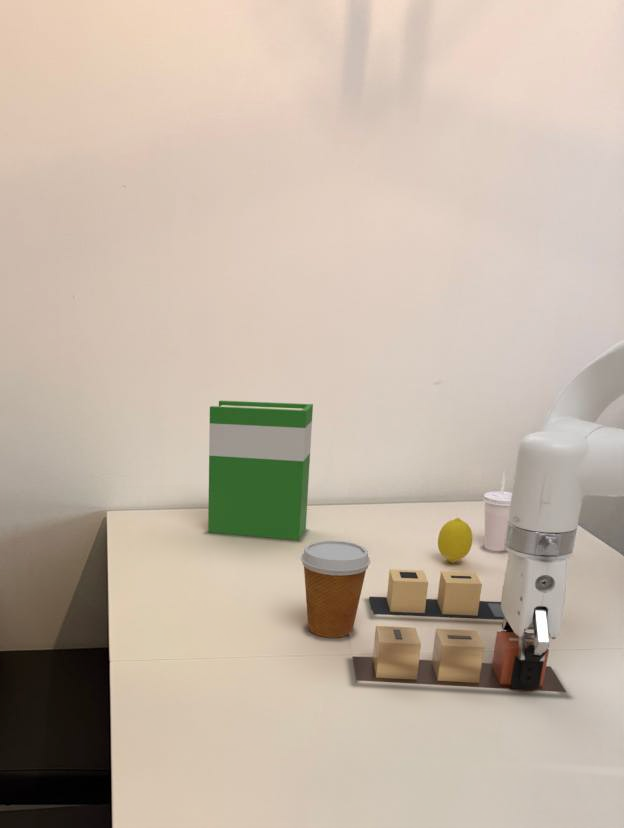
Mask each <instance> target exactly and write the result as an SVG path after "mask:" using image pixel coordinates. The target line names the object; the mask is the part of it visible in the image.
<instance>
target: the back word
mask: <svg viewBox="0 0 624 828" xmlns="http://www.w3.org/2000/svg"><path fill="white" fill-rule="evenodd" d="M428 588H429V581H428V578H427V575H426V573H425V571H424V570H421V569H420V570H418V569H395V568H394V569H391V568H389V572H388V581H387V592H386V596H369V598H368V599H369V603H370V608H371V611H372V614H373V615H381V616H382V615H383V616H384V615H385V616H403V617H404V616H406V617H425V618H426V617H430V618H431V617H432V618H451V619H475V620H493V621H494V620H495V621H497V620H499V621H503V619H504V614H503V612H502V608H501V601H489V600H488V601H486V600H481V593H482V588H483V583H482V581H481V580H480V578H479V576H478V575H477V573H476V572H475V571H451V570H450V571H449V570H448V571H447V570H445V571H444V570H441V571H440V573H439V582H438V590H437V591H438V592H437V598H428V597H427V596H428Z"/></svg>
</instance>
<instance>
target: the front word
mask: <svg viewBox="0 0 624 828" xmlns="http://www.w3.org/2000/svg"><path fill="white" fill-rule="evenodd" d="M434 633H435V634H434V640H433V641H434V642H433V648H432V657H431V659H420V655H421V646H422V642H421V641H420V637H419V633H418V631H417V627H408V626H386V625H375V632H374V641H373V653H372V657H371V656H352V665H353V671H354V678H355V683H356V684H357V682H358V681H359V682H374V683H378V682H379V683H392V684H393V683H394V684H410V685H411V684H412V685H429V686H430V685H431V686H446V687H447V686H449V687H463V688H464V687H467V688H483V689H502V690H517V691H518V690H522V691H536V692H537V691H538V692H555V693H557V692H558V693H559V692H560V693H567V690H566V689H565V687H564V686H563V684H562V682H561V680H559V677H558V676H557V675H556V673H555V671H554V670H553V668H552V666H550V665H549V666H548V665H546V670H545V675H544V681H543V686H542V687H541V686H539V688H538V689H522V688H513V687H512V686H511V685H504V684H500V683H499V681H498V679H497V677H496V674H495V672H494V670H493V668H492V662H491V663H490V662H483V657H484V653H485V652H484V651H485V645H484V643H483V642H482V639H481V638H480V636H479V633H478V632H477V630H473V629H472V630H471V629H470V630H469V629H452V628H451V629H447V628H435V632H434Z"/></svg>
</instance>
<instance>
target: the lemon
mask: <svg viewBox="0 0 624 828" xmlns="http://www.w3.org/2000/svg"><path fill="white" fill-rule="evenodd" d="M472 545H473V531H472V529H471V526H469V524H468V523H467V522H466V521H464V520H462V519H461V517H460V518H459V517H455V518H454V519H451V520H449V521H447V522H445V524H444V525H443V526H442V527H441V528H440V531H439V534H438V538H437V549H438V551H439V554H440V555H441V556H442V557H443V558H445V559H446V560H448V562H450V563H451V564H454V563H456V562H457V561H458V560H462V559H464V558H465V557H466V556H467V555H468V554H469V552H470V551H471V549H472Z"/></svg>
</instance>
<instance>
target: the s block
mask: <svg viewBox="0 0 624 828" xmlns="http://www.w3.org/2000/svg"><path fill="white" fill-rule="evenodd" d="M525 634H534V632H527V633H525ZM495 636H496V637H495V642H494V648H493V649H494V650H493V655H492V662H491V663H492V668H493V670H494V672H495V674H496V677H497V679H498V681H499V683H500V684H504V685H511V678H512V672H513V666H514V660H515V657H518V648H519V636H518V635H516V634H515V633H514V632H501V631H496V635H495ZM533 642H534V640H531V639H526V648H527V647H528V646H529V645H533ZM549 653H550V650H549V647H548V648H547V652H546V653H545V660H544V663H543V668H542V674H541V679H540V685H539V686H541V687H542V686H543V681H544V675H545V670H546V666H547V663H548V658H549Z"/></svg>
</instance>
